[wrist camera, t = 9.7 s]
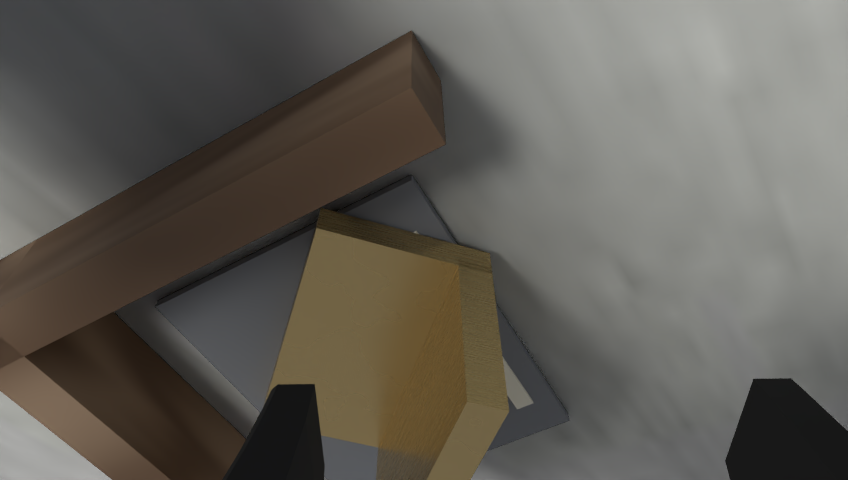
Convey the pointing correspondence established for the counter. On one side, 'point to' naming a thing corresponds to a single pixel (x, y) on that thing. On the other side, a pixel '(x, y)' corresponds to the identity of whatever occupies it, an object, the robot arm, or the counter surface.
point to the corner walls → (192, 262)
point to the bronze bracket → (398, 347)
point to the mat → (271, 305)
